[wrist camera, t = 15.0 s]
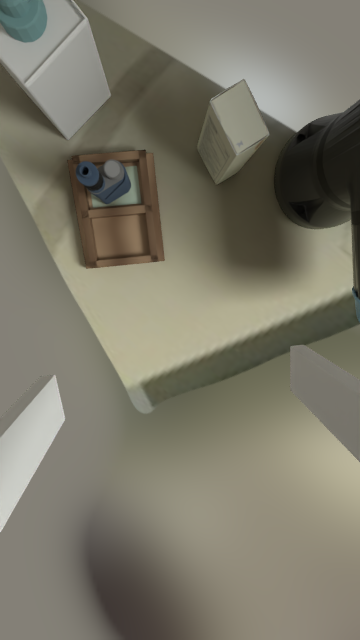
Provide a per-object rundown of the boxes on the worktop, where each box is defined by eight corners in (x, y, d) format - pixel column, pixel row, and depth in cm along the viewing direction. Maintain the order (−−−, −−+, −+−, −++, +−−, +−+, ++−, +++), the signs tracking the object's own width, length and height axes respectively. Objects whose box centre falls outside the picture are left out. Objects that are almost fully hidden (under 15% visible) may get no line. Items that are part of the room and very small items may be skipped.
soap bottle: (69, 142, 39) (-12, 40, 21) (20, 86, 37) (-119, -81, 19) (112, 97, 38) (69, -52, 20) (64, 37, 36) (-34, -189, 18)
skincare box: (240, 170, 42) (272, 137, 30) (215, 186, 42) (237, 159, 30) (220, 128, 40) (245, 75, 28) (194, 144, 40) (209, 99, 28)
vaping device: (94, 191, 40) (66, 164, 28) (125, 172, 39) (111, 137, 28) (104, 208, 40) (81, 189, 28) (134, 189, 40) (124, 162, 28)
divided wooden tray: (153, 155, 40) (152, 149, 38) (164, 260, 44) (164, 260, 41) (69, 162, 40) (63, 156, 37) (88, 268, 43) (83, 269, 41)
